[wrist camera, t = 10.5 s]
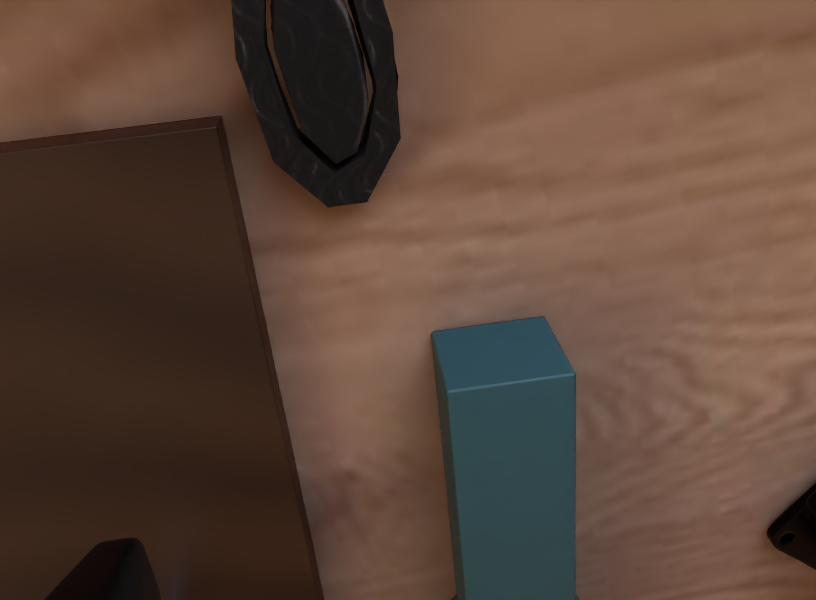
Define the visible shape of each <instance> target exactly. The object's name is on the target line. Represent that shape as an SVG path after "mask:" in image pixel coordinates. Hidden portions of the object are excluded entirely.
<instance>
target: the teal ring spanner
mask: <svg viewBox="0 0 816 600" xmlns="http://www.w3.org/2000/svg"><path fill="white" fill-rule="evenodd" d="M431 338H432V348H433V358H434V368H435V378H436V388H437V399H438V409H439V419H440V429H441V439H442V449H443V459H444V469H445V479H446V489H447V499H448V509H449V519H450V529H451V540H452V550H453V560H454V570H455V580H456V590H457V595H456V596H455V597H454V598H453V599H452V600H579V598H578V596H577V595H575V463H576V374H575V372H574V370H573V368H572V367H571V365H570V363H569V361H568V359H567V357H566V355H565V354H564V352H563V350H562V348H561V346H560V344H559V342H558V341H557V339H556V337H555V335H554V333H553V331H552V330H551V328H550V326H549V324H548V322H547V320H546V318H545V317H535V318H527V319H520V320H513V321H505V322H498V323H491V324H484V325H476V326H469V327H462V328H454V329H447V330H440V331H433V332H432V334H431Z"/></svg>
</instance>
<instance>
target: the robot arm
mask: <svg viewBox="0 0 816 600" xmlns="http://www.w3.org/2000/svg"><path fill="white" fill-rule="evenodd" d="M767 537H768V538H769V540H770V541H771V543H772V544H773V545H774V546H775V547H776V548H777V549H778V550H780V551H782V552H784V553H786V554H788V555H790V556H791V557H793V558H795V559H797V560H799V561H801V562H803V563H804V564H806V565H808V566H810V567H812V568H814V569H815V570H816V484H815V485H814V486H812V487H811V488H810V489H809V490H808V491H807V492H806V493H805V494H804V495H803V496H802V497H801V498H799V499H798V500H797V501H796V502H795V503H794V504H793V505H792V506H791V507H790V508H789V509H788V510H787V511H785V512H784V513H783V514H782V515H781V516H780V517H779V518H778V519H777V520H776V521H775V522H774V523H773V524H771V526H770V527H769V528H768V531H767ZM44 600H161V596H160V591H159V588H158V585H157V582H156V579H155V576H154V573H153V570H152V568H151V565H150V562H149V559H148V556H147V553H146V550H145V548H144V545H143V544H142V542H141V541H140V540H139V539H137V538H134V537H130V538H123V539H116V540H109V541H104V542H101V543H99V544H97V545H96V546H95V547H93V548H92V549H91V550H90V551H89V553H88V554H87V555H86V556H85V557H84V558H83V559H82V560H81V561H80V562H79V563H78V564H77V565H76V566H75V567H74V568H73V569H72V570H71V571H70V573H69V574H68V575H67V576H66V577H65V578H64V579H63V580H62V581H61V582H60V583H59V584H58V585H57V586H56V587H55V588H54V589H53V590H52V591H51V592H50V594H49V595H48V596H47V597H46V598H45V599H44Z"/></svg>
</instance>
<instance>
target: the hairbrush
mask: <svg viewBox="0 0 816 600" xmlns="http://www.w3.org/2000/svg"><path fill="white" fill-rule="evenodd" d="M231 1H232V14H233V27H234V40H235V53H236V60H237V63H238V66H239V69H240V71H241V74H242V77H243V80H244V82H245V85H246V88H247V90H248V93H249V96H250V99H251V101H252V104H253V107H254V110H255V112H256V115H257V118H258V120H259V123H260V126H261V129H262V131H263V134H264V137H265V140H266V142H267V145H268V148H269V150H270V153H271V156H272V159H273V161H274V162H275V163H276V164H277V165H278V166H279V167H281V168H282V169H283V170H284V171H285V172H286V173H288V174H289V175H290V176H291V177H292V178H294V179H295V180H296V181H297V182H298V183H300V184H301V185H302V186H303V187H304V188H306V189H307V190H308V191H309V192H310V193H312V194H313V195H314V196H315V197H316V198H318V199H319V200H320V201H321V202H322V203H324V204H325V205H326V206H327V207H334V206H341V205H348V204H356V203H363V202H367V201H368V199H369V197H370V195H371V194H372V192H373V190H374V188H375V186H376V184H377V182H378V180H379V178H380V177H381V175H382V173H383V171H384V169H385V167H386V165H387V163H388V161H389V159H390V158H391V156H392V154H393V152H394V150H395V148H396V146H397V144H398V142H399V141H400V139H401V136H400V123H399V110H398V97H397V88H398V74H397V69H396V64H395V58H394V45H393V32H392V28H391V25H390V22H389V19H388V16H387V13H386V10H385V7H384V2H383V0H348V3H349V6H350V9H351V13H352V16H353V19H354V22H355V26H356V29H357V32H358V36H359V39H360V42H361V46H362V49H363V52H364V55H365V59H366V62H367V65H368V69H369V72H370V75H371V78H372V84H373V94H372V99H371V103H370V107H369V112H368V116H367V121H366V125H365V129H364V134H363V138H362V142H361V143H360V138H361V133H362V129H363V124H364V119H365V114H366V110H367V105H368V92H367V84H366V76H365V67H364V59H363V53H362V50H361V47H360V44H359V41H358V38H357V36H356V33H355V28H354V24H353V22H352V20H351V17H350V15H349V13H348V10H347V7H346V5H345V2H344V0H271V6H270V8H271V20H272V23H271V30H272V34H273V43H274V51H275V54H276V57H277V60H278V63H279V66H280V69H281V72H282V75H283V78H284V81H285V84H286V87H287V89H288V92H289V95H290V98H291V100H292V103H293V106H294V109H295V111H296V114H297V117H298V119H299V122H300V125H301V128H302V130H303V133H304V134H305V135H304V134H303V133H302V132H301V131H300V130H299V129H298V128H297V126H296V123H295V121H294V118H293V116H292V113H291V111H290V108H289V106H288V103H287V101H286V98H285V96H284V93H283V91H282V88H281V86H280V83H279V80H278V76H277V73H276V70H275V67H274V64H273V61H272V57H271V54H270V51H269V48H268V45H267V29H266V0H231ZM314 143H315V144H314ZM359 143H360V144H359Z"/></svg>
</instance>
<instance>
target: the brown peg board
mask: <svg viewBox="0 0 816 600" xmlns="http://www.w3.org/2000/svg"><path fill="white" fill-rule="evenodd" d="M130 537H134V538H137V539H139V540H140V541H141V542H142V544H143V545H144V548H145V550H146V553H147V556H148V559H149V562H150V565H151V568H152V570H153V573H154V576H155V579H156V582H157V585H158V588H159V591H160V596H161V600H324V596H323V591H322V587H321V582H320V577H319V572H318V568H317V563H316V558H315V554H314V549H313V544H312V539H311V535H310V530H309V525H308V521H307V516H306V511H305V506H304V502H303V497H302V492H301V488H300V483H299V478H298V473H297V469H296V464H295V459H294V455H293V450H292V445H291V440H290V436H289V431H288V426H287V422H286V417H285V412H284V407H283V403H282V398H281V393H280V389H279V384H278V379H277V374H276V370H275V365H274V360H273V356H272V351H271V346H270V341H269V337H268V332H267V327H266V322H265V318H264V313H263V308H262V304H261V299H260V294H259V289H258V285H257V280H256V275H255V271H254V266H253V261H252V256H251V252H250V247H249V242H248V238H247V233H246V228H245V223H244V219H243V214H242V209H241V205H240V200H239V195H238V190H237V186H236V181H235V176H234V172H233V167H232V162H231V157H230V153H229V148H228V143H227V139H226V134H225V129H224V124H223V120H222V117H221V116H215V117H207V118H199V119H191V120H182V121H174V122H166V123H158V124H150V125H141V126H133V127H125V128H117V129H109V130H101V131H92V132H84V133H76V134H68V135H60V136H51V137H43V138H35V139H27V140H19V141H11V142H2V143H0V600H44V599H45V598H46V597H47V596H48V595H49V594H50V592H51V591H52V590H53V589H54V588H55V587H56V586H57V585H58V584H59V583H60V582H61V581H62V580H63V579H64V578H65V577H66V576H67V575H68V574H69V573H70V571H71V570H72V569H73V568H74V567H75V566H76V565H77V564H78V563H79V562H80V561H81V560H82V559H83V558H84V557H85V556H86V555H87V554H88V553H89V551H90V550H91V549H92V548H93V547H95V546H96V545H97V544H99V543H101V542H104V541H109V540H116V539H123V538H130Z"/></svg>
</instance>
